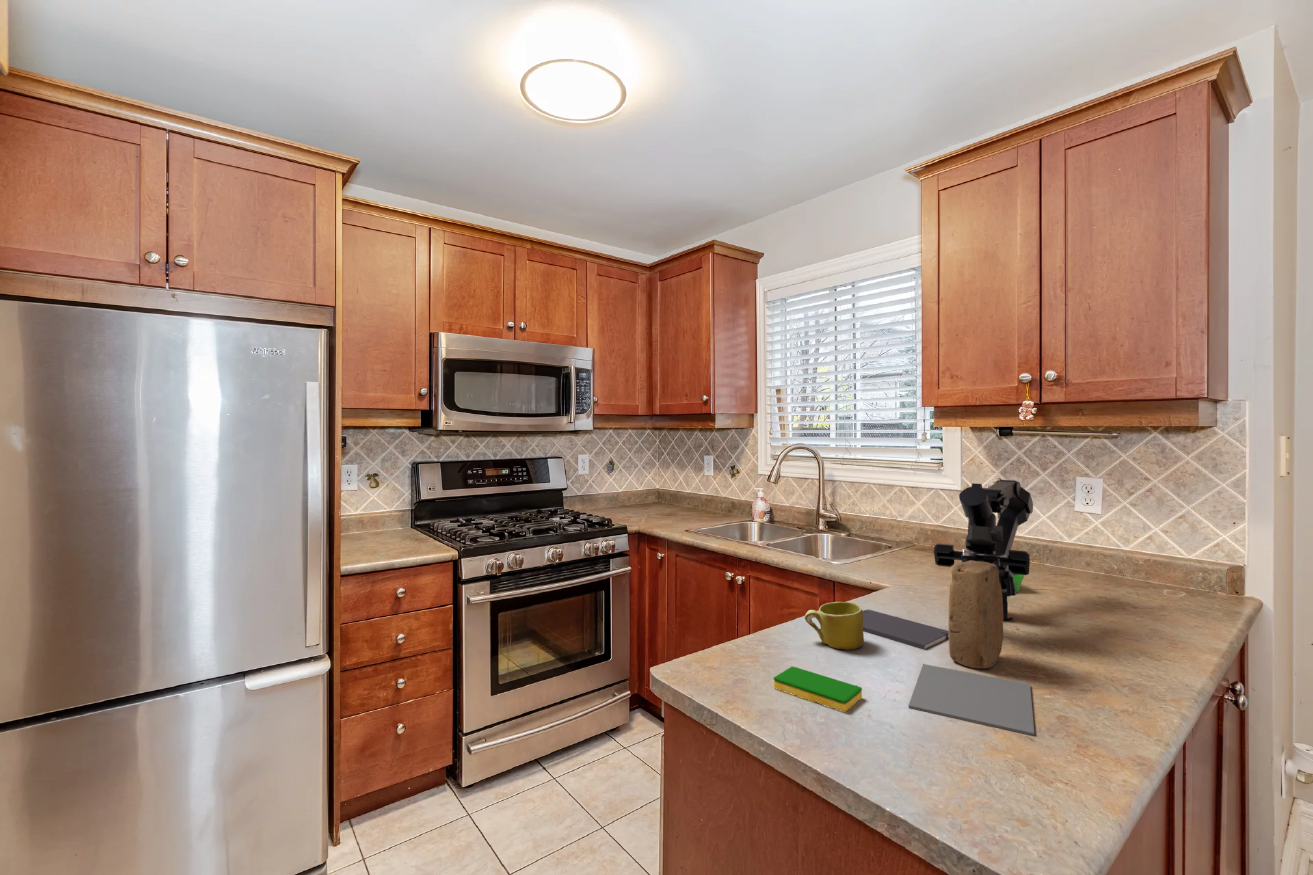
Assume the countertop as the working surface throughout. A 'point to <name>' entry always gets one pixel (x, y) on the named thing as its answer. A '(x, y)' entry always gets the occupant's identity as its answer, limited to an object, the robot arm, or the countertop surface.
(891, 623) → the notebook
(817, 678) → the dish sponge
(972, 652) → the brown rough stone
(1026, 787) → the countertop surface
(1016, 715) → the mat
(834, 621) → the mug
